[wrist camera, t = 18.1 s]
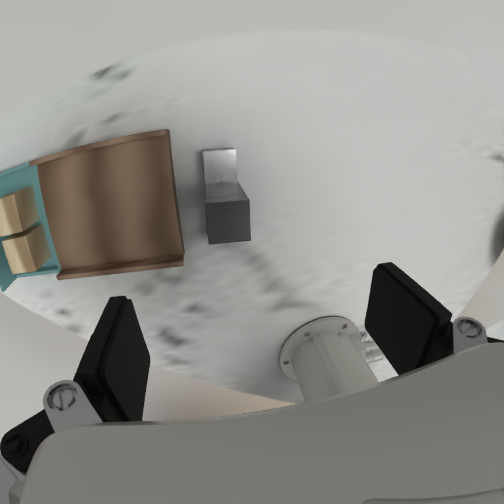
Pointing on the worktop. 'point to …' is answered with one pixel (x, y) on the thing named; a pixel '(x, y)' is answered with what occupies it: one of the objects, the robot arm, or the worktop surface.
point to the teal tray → (15, 181)
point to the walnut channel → (113, 206)
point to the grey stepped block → (225, 198)
